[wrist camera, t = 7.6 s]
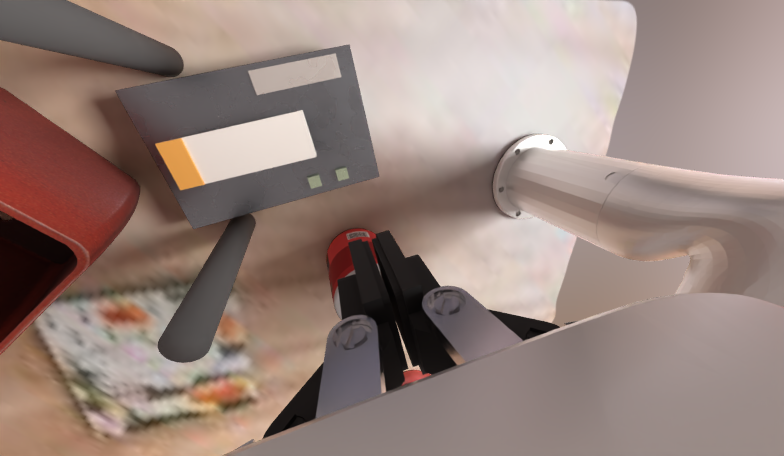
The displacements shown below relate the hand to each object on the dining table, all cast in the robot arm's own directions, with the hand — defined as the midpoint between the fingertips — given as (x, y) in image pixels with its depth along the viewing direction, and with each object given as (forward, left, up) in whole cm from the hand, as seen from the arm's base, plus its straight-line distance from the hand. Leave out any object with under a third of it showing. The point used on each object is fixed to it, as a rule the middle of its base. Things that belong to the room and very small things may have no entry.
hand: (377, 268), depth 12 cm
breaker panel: (+5, -4, -26) cm, 27 cm away
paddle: (+7, -4, -19) cm, 20 cm away
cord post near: (+11, -12, -26) cm, 31 cm away
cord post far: (+11, +5, -26) cm, 29 cm away
